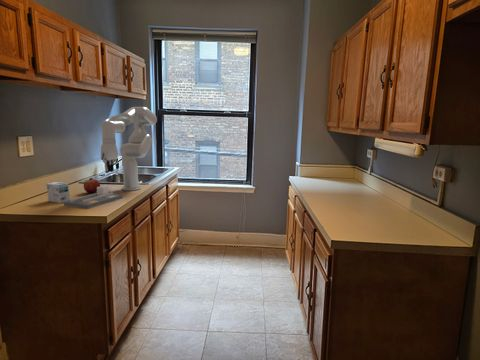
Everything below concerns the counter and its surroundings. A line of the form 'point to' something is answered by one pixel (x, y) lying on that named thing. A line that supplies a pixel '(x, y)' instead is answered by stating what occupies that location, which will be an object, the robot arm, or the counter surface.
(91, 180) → the fruit
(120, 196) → the switch board
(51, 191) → the light bulb box
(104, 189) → the switch tab
